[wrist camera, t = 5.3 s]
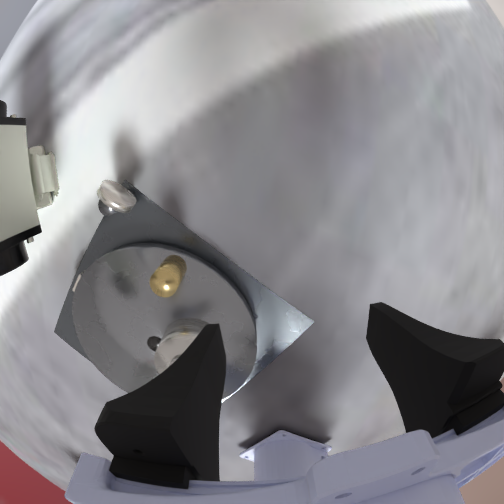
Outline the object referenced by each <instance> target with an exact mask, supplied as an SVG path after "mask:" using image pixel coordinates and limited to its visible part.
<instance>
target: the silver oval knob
mask: <svg viewBox="0 0 504 504" xmlns="http://www.w3.org/2000/svg"><path fill="white" fill-rule="evenodd" d="M97 195H98V197H99V199H100V200H99V203H98V206H99V210H100V212H101V213H102V214H103V215H105V216H110V215H112V214H115V213H117V212H122V213H129V212H130V211H131V210H132V208H133V207H134V205H135V204H136V195H135V193H134V192H133V191H132V190H131V189H126V188H125V187H124V186H122V185H120V184H118V183H116V182H114V181H110V180H104V181H102V183H101V185H100V187H99V188H98V190H97Z"/></svg>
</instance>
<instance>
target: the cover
mask: <svg viewBox="0 0 504 504" xmlns="http://www.w3.org/2000/svg"><path fill="white" fill-rule="evenodd" d="M206 324H209V323H208V322H206V321H204V320H201V319H197V318H181V319H178V320H175V321H174V322H172V323H171V324H170V325H169V326H168V327H167V329H166V330H165V332H164V335H163V337H162V339H161V341H160V343H159V345H158V347H157V350H156V352H155V355H154V364H155V367H156V369H157V371H158V373H159V374H161V373H162V372H163V371H164V370H166V369H167V368H168V367H169V366H170V365H171V364H173V363H174V362H175V361H176V360H177V359H178V358H179V357H180V356H181V354H182V353H183V352H184V351H185V350H186V349H187V348H188V347H189V345H190V344H191V343H192V342H193V341H194V339H195V338H196V337H197V336H198V334H199V333H200V332H201V330H202V329H203V328H204V327H205V325H206ZM222 339H223V338H222ZM223 344H224V342H223Z"/></svg>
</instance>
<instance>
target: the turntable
mask: <svg viewBox="0 0 504 504" xmlns="http://www.w3.org/2000/svg"><path fill="white" fill-rule="evenodd" d="M72 291H74V296H73V302H72V315H73V323H74V327H75V331H76V334H77V336H78V339H79V342H80V344H81V346H82V347H83V349H84V351H85V353H86V354H87V356H88V357H89V359H90V360H91V361H92V363H93V364H94V365H95V366H96V368H97V369H98V370H99V371H100V372H101V373H102V374H103V375H104V376H105V377H106V378H108V379H109V380H110V381H111V382H112V383H114V384H115V385H117V386H118V387H119V388H121V389H122V390H124V391H126V392H128V393H130V392H132V391H134V390H136V389H138V388H140V387H141V386H143V385H145V384H146V383H148V382H149V381H151V380H152V379H154V378H155V377H157V376H158V375H159V373H158V371H157V369H156V367H155V364H154V355H155V352H156V350H157V347H158V345H159V343H160V341H161V339H162V337H163V335H164V332H165V330H166V329H167V327H168V326H169V325H170V324H171V323H172V322H174V321H175V320H178V319H181V318H197V319H201V320H204V321H206V322H208V323H209V324H218V323H219V325H220V330H221V334H222V338H223V342H224V349H225V353H226V378H225V384H224V391H223V397H222V400H223V399H224V398H226V397H228V396H230V395H231V394H233V393H234V392H236V391H237V390H238V389H239V388H240V387H241V386H242V385H243V384H244V383H245V381H246V380H247V379H248V377H249V375H250V374H251V372H252V370H253V367H254V364H255V361H256V355H257V332H256V326H255V321H254V318H253V315H252V312H251V309H250V307H249V305H248V304H247V302H246V300H245V298H244V296H243V295H242V294H241V292H240V291H239V290H238V288H237V287H236V286H235V285H234V284H233V282H232V281H231V280H230V279H229V278H228V277H227V276H226V275H225V274H223V273H222V272H221V271H220V270H219V269H217V268H216V267H215V266H213V265H212V264H210V263H209V262H207V261H206V260H204V259H203V258H201V257H199V256H197V255H195V254H192V253H190V252H188V251H185V250H182V249H180V248H177V247H173V246H168V245H164V244H156V243H136V244H130V245H125V246H122V247H119V248H116V249H114V250H111V251H110V252H108V253H106V254H105V255H103V256H102V257H100V258H99V259H98V260H96V261H95V262H94V263H93V264H92V265H90V266H89V267H88V268H87V269H85V270H84V271H83V272H81V273H80V274H79V276H78V278H77V280H76V283H75V285H74V288H73V290H72Z"/></svg>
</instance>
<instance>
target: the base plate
mask: <svg viewBox="0 0 504 504" xmlns="http://www.w3.org/2000/svg"><path fill="white" fill-rule="evenodd" d="M122 186H124V187H125V188H126V189H131V190H132V191H133V192H134V193H135V195H136V204H135V205H134V207H133V208H132V210H131V211H130V212H129V213H122V212H117V213H115V214H112V215H110V216H105V215H104V217H103V219H102V221H101V222H100V224H99V226H98V228H97V230H96V232H95V234H94V236H93V238H92V240H91V242H90V244H89V246H88V248H87V250H86V253H85V255H84V257H83V259H82V261H81V263H80V266H79V268H78V270H77V273H76V275H75V277H74V280H73V282H72V284H71V287H70V289H69V292H68V294H67V297H66V300H65V302H64V305H63V308H62V310H61V313H60V316H59V319H58V322H57V325H56V328H55V331H54V332H55V333H56V334H57V335H58V336H59V337H60V338H62V339H63V340H64V341H65V342H66V343H68V344H69V345H70V346H71V347H73V348H74V349H75V350H76V351H78V352H79V353H80V354H81V355H83V356H84V357H85V358H87V359H88V360H89V361H91V360H90V359H89V357H88V356H87V354H86V353H85V351H84V349H83V347H82V346H81V344H80V342H79V339H78V336H77V334H76V331H75V327H74V323H73V315H72V302H73V296H74V291H72V290H73V288H74V285H75V283H76V280H77V278H78V276H79V274H80V273H81V272H83V271H84V270H85V269H87V268H88V267H89V266H90V265H92V264H93V263H94V262H95V261H96V260H98V259H99V258H100V257H102V256H103V255H105V254H106V253H108V252H110V251H111V250H114V249H116V248H119V247H122V246H125V245H130V244H136V243H156V244H164V245H168V246H173V247H177V248H180V249H182V250H185V251H188V252H190V253H192V254H195V255H197V256H199V257H201V258H203V259H204V260H206V261H207V262H209V263H210V264H212V265H213V266H215V267H216V268H217V269H219V270H220V271H221V272H222V273H223V274H225V275H226V276H227V277H228V278H229V279H230V280H231V281H232V282H233V284H234V285H235V286H236V287H237V288H238V290H239V291H240V292H241V294H242V295H243V296H244V298H245V300H246V302H247V304H248V305H249V307H250V309H251V312H252V315H253V318H254V321H255V326H256V332H257V355H256V361H255V364H254V367H253V370H252V372H251V374H250V375H249V377H248V379H247V380H246V381H245V383H244V384H243V385H242V386H244V385H245V384H246V383H247V382H249V381H250V380H251V379H252V378H253V377H254V376H256V375H257V374H258V373H259V372H260V371H261V370H263V369H264V368H265V367H266V366H267V365H268V364H270V363H271V362H272V361H273V360H274V359H275V358H276V357H277V356H279V355H280V354H281V353H282V352H283V351H284V350H285V349H286V348H287V347H288V346H289V345H291V344H292V343H293V342H294V341H295V340H296V339H297V338H298V337H299V336H300V335H301V334H302V333H303V332H304V331H305V330H306V329H307V328H309V327H310V326H311V325H312V324H313V323H314V321H313V320H311V319H310V318H308V317H307V316H306V315H304V314H303V313H301V312H300V311H299V310H297V309H296V308H295V307H293V306H292V305H290V304H289V303H288V302H286V301H285V300H283V299H282V298H281V297H279V296H278V295H277V294H275V293H274V292H272V291H271V290H270V289H268V288H267V287H266V286H264V285H263V284H262V283H260V282H259V281H257V280H256V279H255V278H253V277H252V276H251V275H249V274H248V273H247V272H245V271H244V270H243V269H241V268H240V267H239V266H237V265H236V264H234V263H233V262H232V261H230V260H229V259H228V258H226V257H225V256H224V255H222V254H221V253H220V252H218V251H217V250H216V249H214V248H213V247H212V246H210V245H209V244H208V243H206V242H205V241H204V240H202V239H201V238H200V237H199V236H197V235H196V234H195V233H193V232H192V231H191V230H189V229H188V228H187V227H185V226H184V225H183V224H181V223H180V222H179V221H178V220H176V219H175V218H174V217H172V216H171V215H170V214H168V213H167V212H166V211H164V210H163V209H162V208H161V207H159V206H158V205H157V204H155V203H154V202H153V201H152V200H150V199H149V198H148V197H146V196H145V195H144V194H143V193H141V192H140V191H139V190H137V189H136V188H135V187H134V186H132V185H131V184H130V183H129V182H127V181H126V180H124V182H123V184H122ZM91 362H92V361H91ZM242 386H241V387H242ZM241 387H240V388H241ZM240 388H239V389H240ZM239 389H238V390H239ZM238 390H237V391H238ZM234 393H235V392H234ZM234 393H233V394H234ZM233 394H231V395H233ZM231 395H230V396H231ZM230 396H228V397H226V398H224V399H223V400H222V403H223V402H224V401H225V400H226V399H228V398H229V397H230Z"/></svg>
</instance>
